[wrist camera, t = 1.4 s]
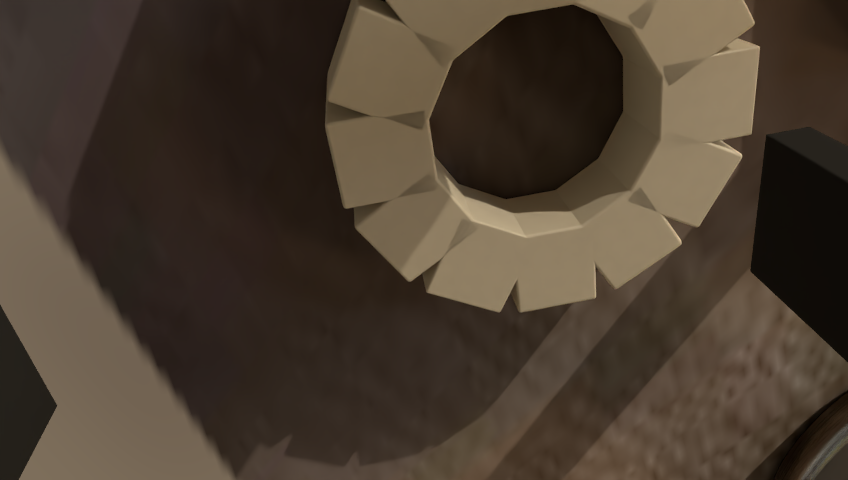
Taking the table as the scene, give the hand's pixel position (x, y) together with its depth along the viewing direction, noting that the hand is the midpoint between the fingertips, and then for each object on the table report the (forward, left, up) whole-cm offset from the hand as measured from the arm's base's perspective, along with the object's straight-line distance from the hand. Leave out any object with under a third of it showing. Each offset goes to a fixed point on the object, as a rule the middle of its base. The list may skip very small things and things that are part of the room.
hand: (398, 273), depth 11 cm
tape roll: (0, -4, -9) cm, 10 cm away
